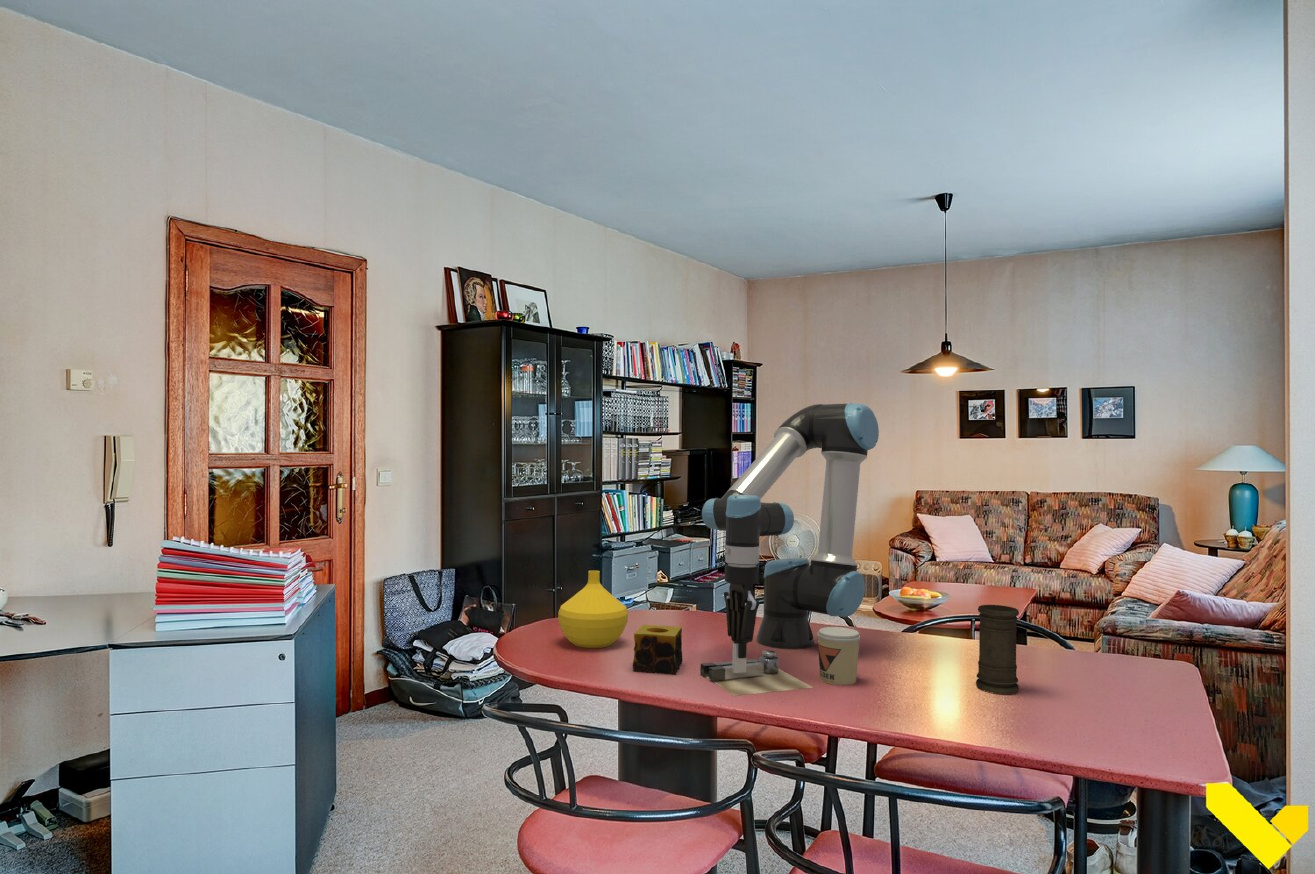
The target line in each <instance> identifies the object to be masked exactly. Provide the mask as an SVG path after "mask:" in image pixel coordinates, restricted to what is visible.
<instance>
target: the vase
mask: <svg viewBox="0 0 1315 874" xmlns="http://www.w3.org/2000/svg"><path fill="white" fill-rule="evenodd" d="M600 573H601V572H600V570H588V573H587V574H588V575H587V576H588V579H587V583H586V585H585V586H584V587H583V588H582V589H581V590H579V591H577V593H575V594H574V595H573V596H571V597H570V598H569V599H568V600H567V601H565V602H564V603H563V604H561V605H560V607H559V610H558V614H557V615H558V616H557V620H558V623H559V626H560V629H561V632H562V633H563V635H564V636H565V637H566V639H567V640H568V642H570V643H571V644H573V645H574V646H576V647H579V648H582V649H583V648H584V649H600V648H601V649H602V648H607V647H610V646H612V645H613V644H614V643H615V642H616V641H618V640H619V639H620V637H621V635H622V634H624V631H625V628H626V626H627V624H628V615H629V614H628V613H629V611H628V608H627V606H626V605H625V604H623V603H622V601H620V600H619V599H618V598H616V597H615V596H613V594H611V593H610V592H609V591H608V590H607V589H606V588H604V587H603V585H602V584H601V582H600V579H601V578H600V577H601V575H600Z"/></svg>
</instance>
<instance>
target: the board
mask: <svg viewBox="0 0 1315 874" xmlns="http://www.w3.org/2000/svg"><path fill="white" fill-rule="evenodd" d="M706 678H707V679H708V680H710V679H709V677H706ZM710 681H711V682H712V683H714V684H716V685H717V686H718V687H720V688H722V689H723V690H724V691H726V692H727V693H729V694H731V696H733V697H736V696H737V697H738V696H748V695H756V694H767V693H775V692H776V693H777V692H785V691H795V690H797V691H798V690H805V689H813V688H814V687H813V686H812V685H809V684H807V683H805V682H804V681H802V680H801V679H799V678H797V677H794V676H793V675H791V674H790V673H787V672H785V671H784V670H782V669H780V668H778V674H774V675H767V674H764V675H759V676H750V677H742V678H734V679H726V680H719V681H712V680H710Z"/></svg>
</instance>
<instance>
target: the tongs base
mask: <svg viewBox="0 0 1315 874" xmlns="http://www.w3.org/2000/svg"><path fill="white" fill-rule="evenodd" d="M758 658H759V660H758V659H746V664H748V663H757V662H760V663H762V664H764V674H767V675H774V674H778V669H779V663H780V662H779V661H780V660H779V657H777V656H776V657H774V658H766V657H763V656H762V655H761V656H759V657H758ZM731 665H732V660H731V661H721V662H704V663H700V669H699V671H700V674H699V675H700V676H701V677H703V678H707V677H709V667H717V666H731Z"/></svg>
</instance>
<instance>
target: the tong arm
mask: <svg viewBox="0 0 1315 874" xmlns="http://www.w3.org/2000/svg"><path fill="white" fill-rule="evenodd" d="M761 656H763V657H766V658H774V657H777V654H776V651H775V650H771V649H768V650H767V649H765V650H762V655H761ZM759 675H764V664H762V663H760V662H757V663H748V664H746V672H742V673H734V672H732V665H731V666H717V667H709V679H710V681H711V680H712V681H719V680H726V679H734V678H742V677H750V676H759ZM709 679H708V680H709ZM712 681H711V682H712Z"/></svg>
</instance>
